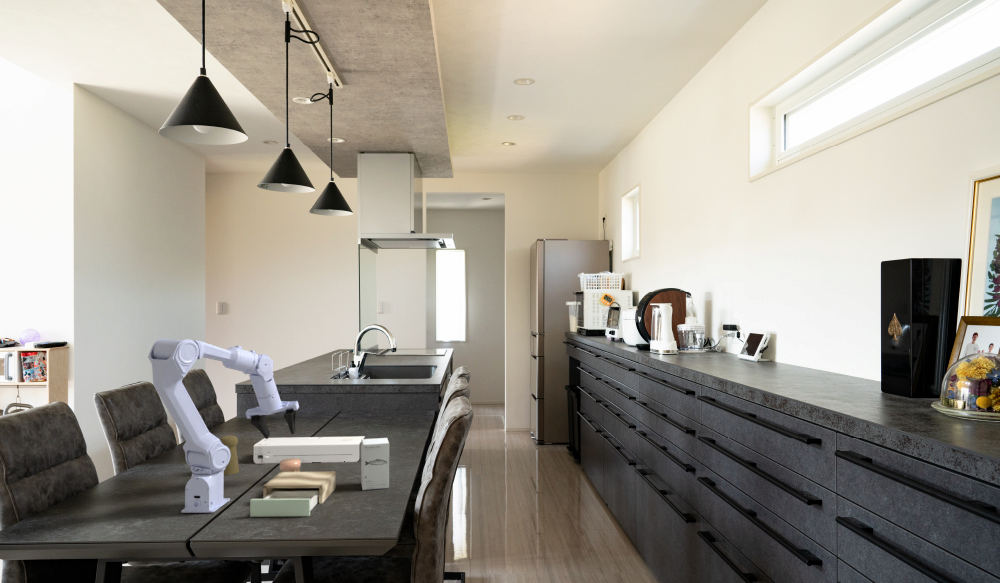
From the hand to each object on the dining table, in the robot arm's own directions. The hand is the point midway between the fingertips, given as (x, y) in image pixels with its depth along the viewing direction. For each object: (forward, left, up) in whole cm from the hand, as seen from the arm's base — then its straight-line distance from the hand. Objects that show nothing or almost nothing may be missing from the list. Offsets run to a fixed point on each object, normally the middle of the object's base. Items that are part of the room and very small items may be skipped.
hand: (280, 434), depth 173 cm
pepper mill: (+9, +19, -13) cm, 25 cm away
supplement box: (-5, -28, -13) cm, 32 cm away
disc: (-1, -3, -9) cm, 10 cm away
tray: (-22, -10, -13) cm, 28 cm away
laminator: (+25, -1, -14) cm, 28 cm away
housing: (-14, -10, -13) cm, 22 cm away
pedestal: (-1, -3, -13) cm, 14 cm away
